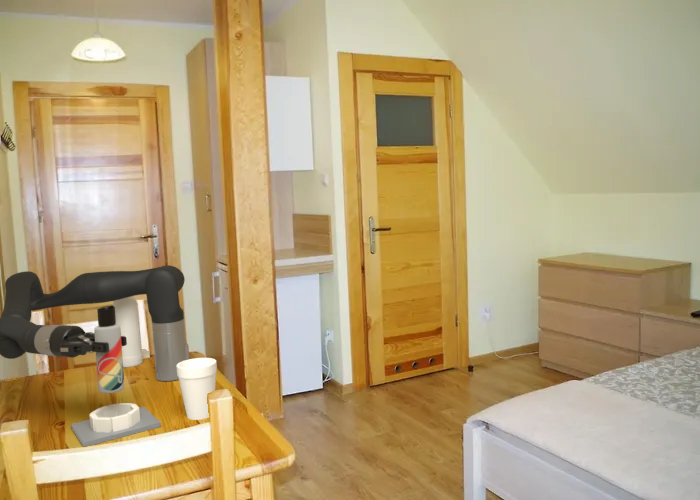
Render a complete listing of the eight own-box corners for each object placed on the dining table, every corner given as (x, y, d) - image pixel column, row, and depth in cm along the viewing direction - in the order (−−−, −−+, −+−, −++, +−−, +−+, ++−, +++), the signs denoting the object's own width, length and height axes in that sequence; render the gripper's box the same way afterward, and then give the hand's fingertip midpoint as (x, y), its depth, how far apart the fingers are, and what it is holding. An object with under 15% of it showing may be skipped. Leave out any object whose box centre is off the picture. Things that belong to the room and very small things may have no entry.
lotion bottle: (115, 394, 137) (109, 308, 135) (93, 393, 138) (87, 307, 136) (129, 386, 143) (124, 303, 141) (107, 385, 144) (102, 303, 142)
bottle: (116, 363, 197) (108, 273, 194) (141, 359, 201) (133, 270, 198) (118, 369, 190) (110, 275, 187) (144, 364, 194) (136, 273, 191)
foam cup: (184, 409, 151) (181, 359, 150) (222, 406, 152) (218, 356, 151) (177, 423, 142) (173, 370, 140) (217, 420, 143) (213, 367, 141)
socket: (143, 410, 152) (142, 395, 151) (161, 426, 140) (159, 410, 140) (71, 428, 142) (69, 411, 142) (83, 447, 131) (81, 429, 130)
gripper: (84, 348, 151) (139, 352, 145) (37, 364, 138) (95, 369, 132) (81, 318, 151) (136, 321, 145) (34, 332, 137) (92, 336, 131)
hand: (116, 344), depth 138 cm, fingers closed on lotion bottle, 5 cm apart
